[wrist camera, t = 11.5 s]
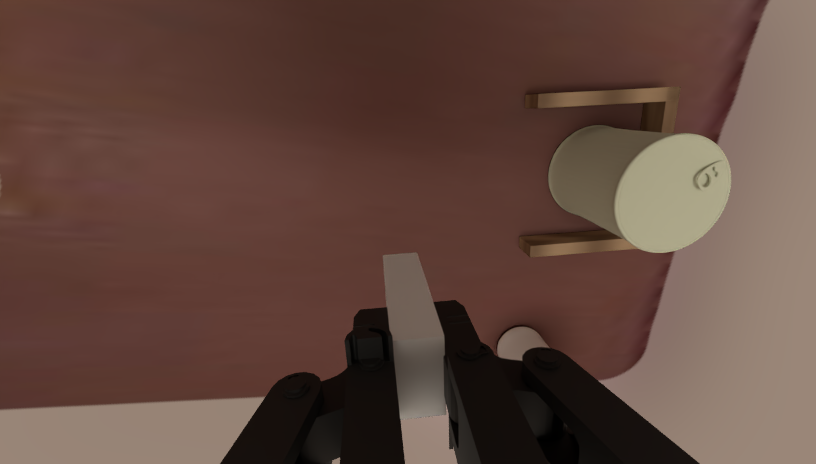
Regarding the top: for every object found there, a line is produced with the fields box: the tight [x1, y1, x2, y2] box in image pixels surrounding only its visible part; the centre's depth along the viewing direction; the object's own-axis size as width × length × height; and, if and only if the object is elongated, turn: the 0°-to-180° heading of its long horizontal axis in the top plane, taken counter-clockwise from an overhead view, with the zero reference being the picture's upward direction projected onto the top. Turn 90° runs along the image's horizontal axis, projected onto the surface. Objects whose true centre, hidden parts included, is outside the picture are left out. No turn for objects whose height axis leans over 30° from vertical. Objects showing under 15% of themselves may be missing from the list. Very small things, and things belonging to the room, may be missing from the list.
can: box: [548, 125, 731, 253], centre depth 35 cm, size 9×9×12 cm
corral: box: [519, 87, 681, 257], centre depth 39 cm, size 13×15×3 cm
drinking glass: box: [497, 327, 550, 361], centre depth 39 cm, size 7×7×15 cm
